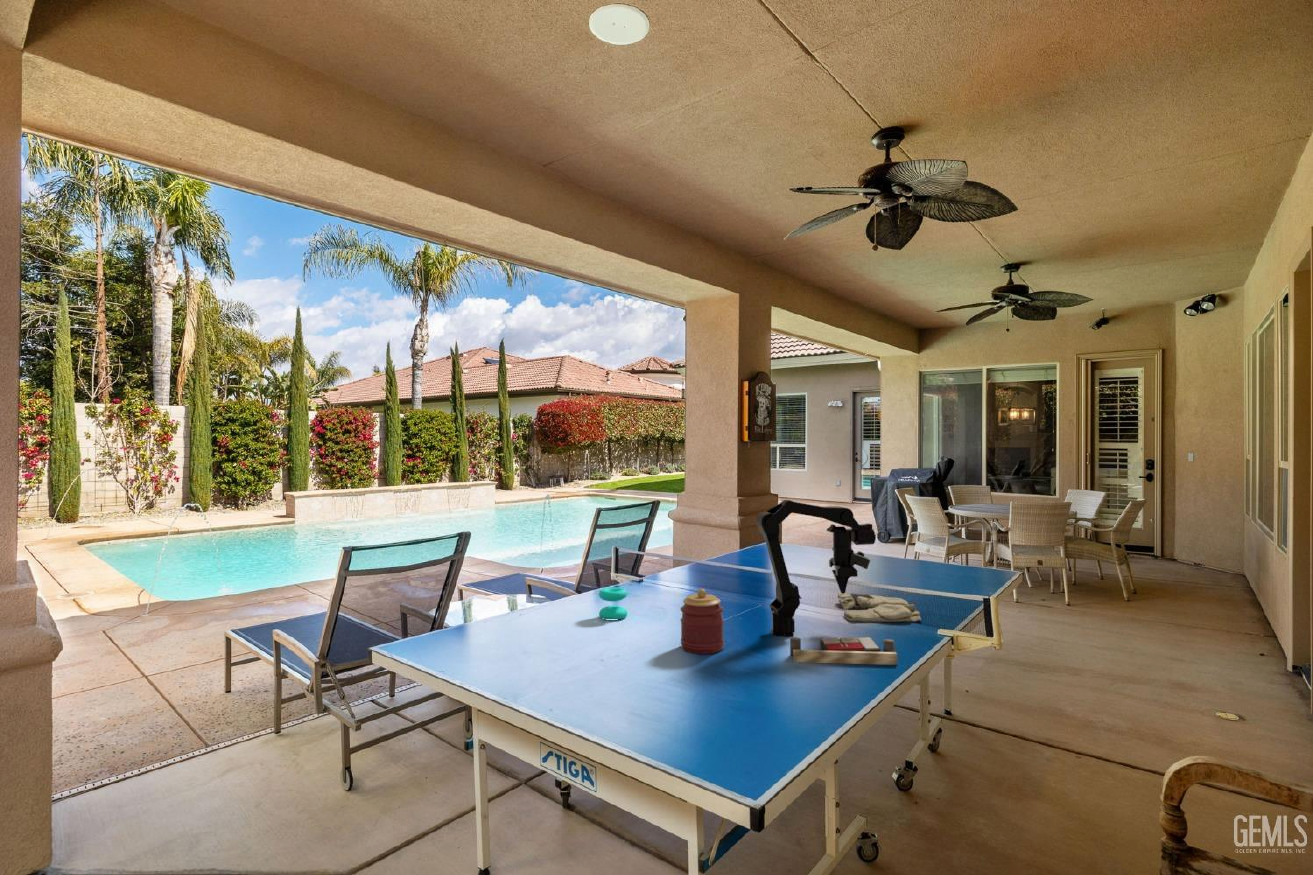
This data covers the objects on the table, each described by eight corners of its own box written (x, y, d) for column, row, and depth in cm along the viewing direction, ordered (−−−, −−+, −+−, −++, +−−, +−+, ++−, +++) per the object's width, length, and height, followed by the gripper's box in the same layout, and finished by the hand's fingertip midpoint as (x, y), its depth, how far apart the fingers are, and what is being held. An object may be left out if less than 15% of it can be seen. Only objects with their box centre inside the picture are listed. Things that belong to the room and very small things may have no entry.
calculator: (819, 637, 196) (871, 635, 194) (820, 651, 195) (872, 649, 194) (826, 648, 185) (881, 646, 183) (827, 664, 184) (882, 662, 183)
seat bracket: (791, 661, 184) (791, 644, 184) (789, 654, 190) (789, 636, 190) (899, 664, 180) (898, 646, 180) (893, 656, 187) (892, 639, 187)
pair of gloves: (835, 602, 253) (834, 588, 253) (904, 603, 249) (904, 590, 249) (847, 624, 223) (847, 608, 223) (926, 625, 219) (926, 610, 219)
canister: (732, 647, 197) (732, 588, 198) (705, 657, 188) (705, 596, 188) (699, 638, 206) (698, 582, 206) (671, 648, 197) (671, 589, 197)
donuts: (631, 590, 230) (604, 593, 226) (631, 619, 230) (604, 622, 226) (620, 585, 239) (594, 588, 235) (621, 612, 239) (595, 616, 235)
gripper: (873, 550, 204) (874, 600, 204) (862, 541, 222) (862, 587, 222) (837, 550, 205) (837, 600, 205) (828, 541, 224) (829, 586, 224)
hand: (843, 593), depth 214 cm, fingers closed
